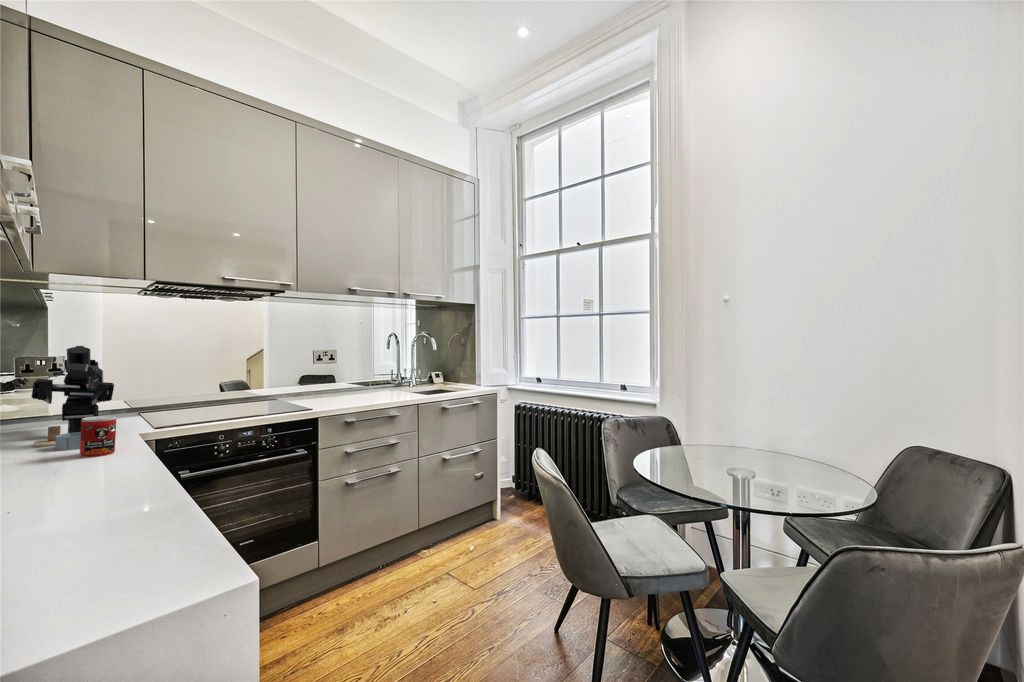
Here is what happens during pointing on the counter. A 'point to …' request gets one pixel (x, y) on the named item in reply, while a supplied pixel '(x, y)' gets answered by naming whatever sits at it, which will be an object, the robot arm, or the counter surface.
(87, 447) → the canned food
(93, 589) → the counter surface
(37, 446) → the mat
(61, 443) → the bowl
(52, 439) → the lid
